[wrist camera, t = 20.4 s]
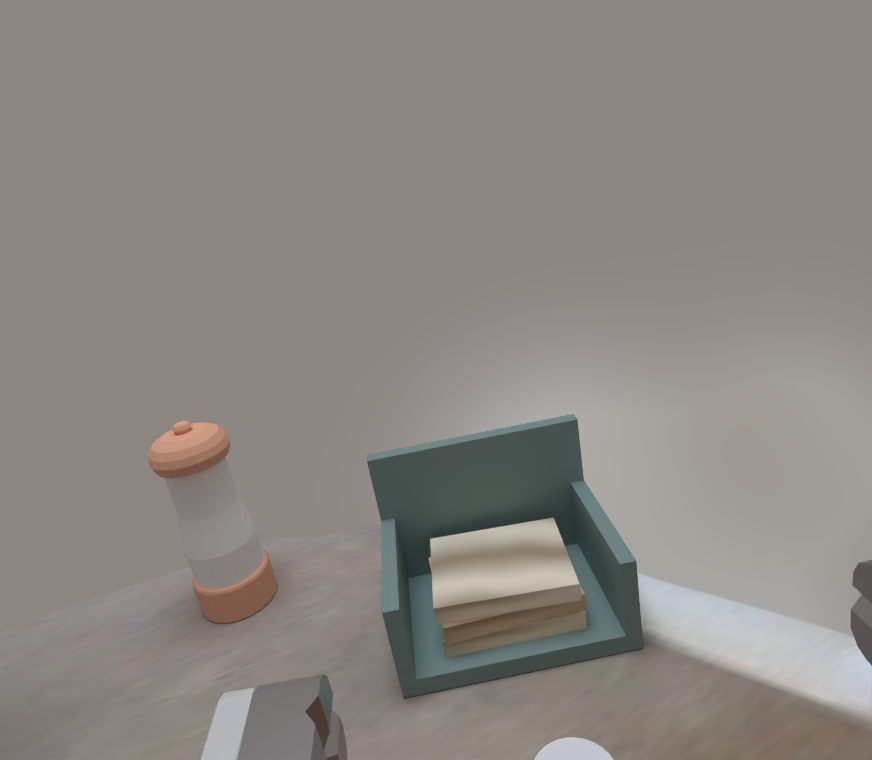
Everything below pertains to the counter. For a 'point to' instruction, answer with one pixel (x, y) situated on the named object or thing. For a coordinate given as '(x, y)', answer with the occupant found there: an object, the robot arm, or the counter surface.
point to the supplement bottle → (573, 750)
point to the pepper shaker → (213, 522)
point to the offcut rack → (489, 508)
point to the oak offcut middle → (508, 619)
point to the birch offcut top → (501, 571)
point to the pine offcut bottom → (518, 634)
